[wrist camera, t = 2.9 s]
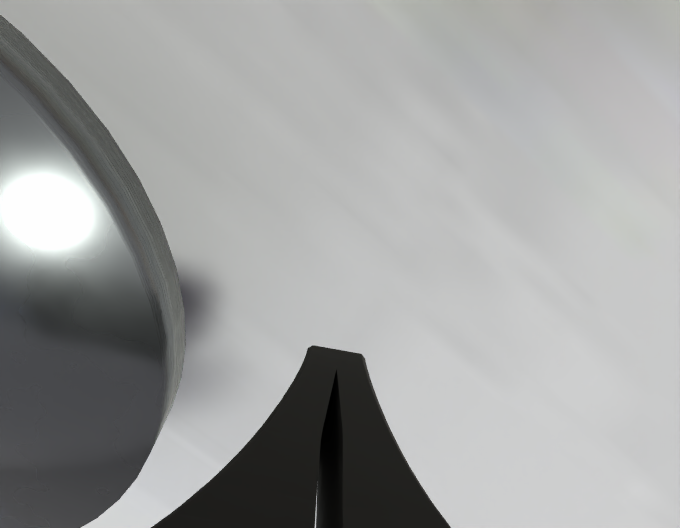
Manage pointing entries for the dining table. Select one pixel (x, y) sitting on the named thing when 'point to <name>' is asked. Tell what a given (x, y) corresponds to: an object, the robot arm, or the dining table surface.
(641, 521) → the dining table surface
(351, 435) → the robot arm
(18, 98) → the cooker lid
